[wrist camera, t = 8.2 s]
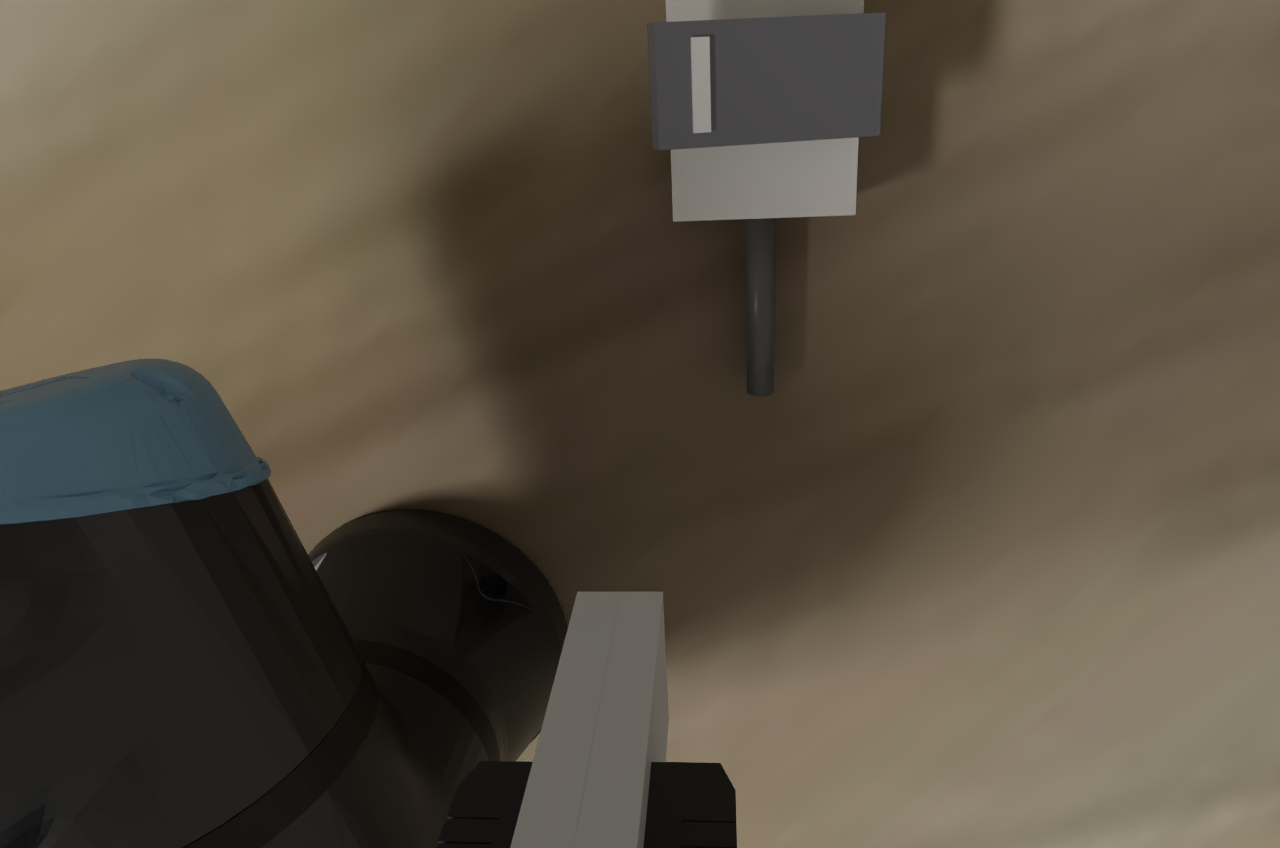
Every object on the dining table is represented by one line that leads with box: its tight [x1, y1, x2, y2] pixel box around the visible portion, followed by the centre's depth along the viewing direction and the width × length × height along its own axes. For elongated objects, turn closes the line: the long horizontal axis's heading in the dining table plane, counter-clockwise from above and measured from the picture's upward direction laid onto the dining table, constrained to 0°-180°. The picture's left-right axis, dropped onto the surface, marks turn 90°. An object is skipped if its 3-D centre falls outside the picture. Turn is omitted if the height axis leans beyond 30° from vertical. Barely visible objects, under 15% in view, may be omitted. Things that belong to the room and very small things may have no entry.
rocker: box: [647, 12, 886, 150], centre depth 31 cm, size 8×4×1 cm, turn 93°
